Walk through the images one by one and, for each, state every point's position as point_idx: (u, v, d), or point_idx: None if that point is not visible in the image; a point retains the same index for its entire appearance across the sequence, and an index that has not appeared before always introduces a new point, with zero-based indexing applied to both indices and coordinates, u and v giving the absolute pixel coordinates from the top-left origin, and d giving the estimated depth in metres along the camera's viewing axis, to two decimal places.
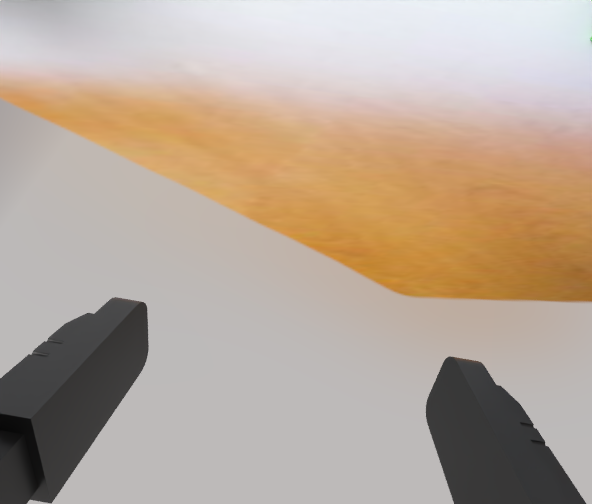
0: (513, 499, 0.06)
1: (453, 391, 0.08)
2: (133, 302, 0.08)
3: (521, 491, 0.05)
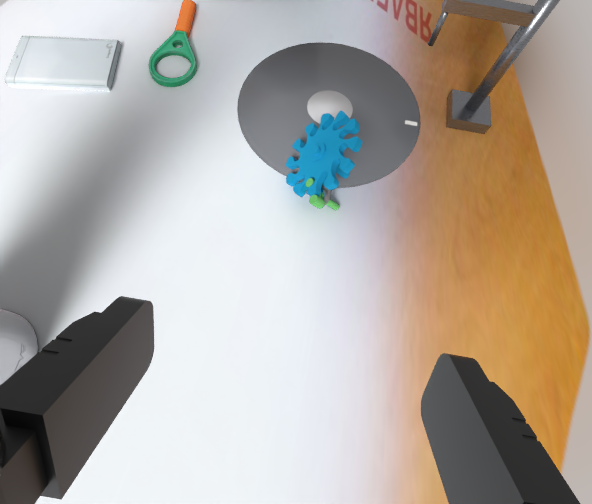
0: (503, 492, 0.06)
1: (447, 387, 0.08)
2: (140, 301, 0.08)
3: (511, 484, 0.05)
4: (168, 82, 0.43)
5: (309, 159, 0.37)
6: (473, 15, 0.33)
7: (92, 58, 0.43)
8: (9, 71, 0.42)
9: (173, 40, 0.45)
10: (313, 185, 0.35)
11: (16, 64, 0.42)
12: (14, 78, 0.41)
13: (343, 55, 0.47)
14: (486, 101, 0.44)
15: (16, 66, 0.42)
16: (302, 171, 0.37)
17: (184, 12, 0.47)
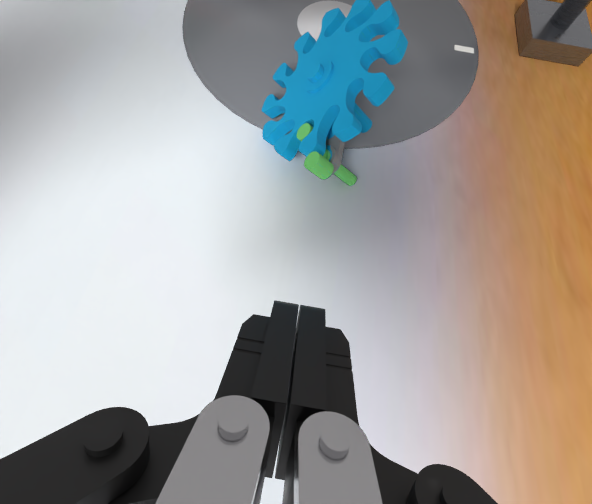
0: (288, 402, 0.07)
1: (296, 333, 0.09)
2: (293, 305, 0.09)
3: (292, 394, 0.06)
4: None
5: (302, 92, 0.20)
6: None
7: None
8: None
9: None
10: (311, 135, 0.18)
11: None
12: None
13: None
14: (580, 14, 0.27)
15: None
16: (290, 114, 0.20)
17: None
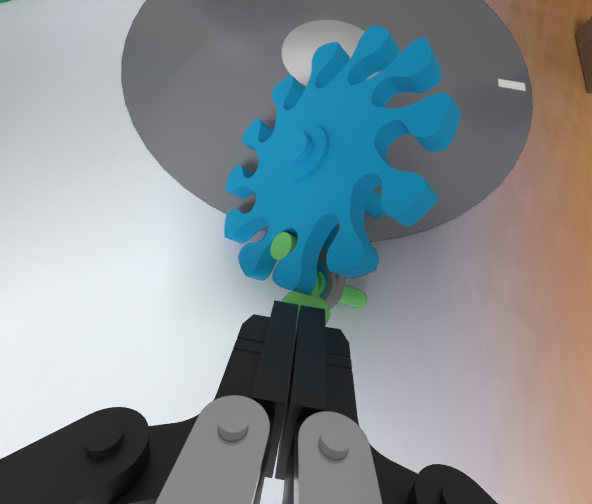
0: (288, 402, 0.07)
1: (296, 333, 0.09)
2: (293, 305, 0.09)
3: (292, 394, 0.06)
4: None
5: (281, 174, 0.13)
6: None
7: None
8: None
9: None
10: (292, 258, 0.11)
11: None
12: None
13: None
14: None
15: None
16: (263, 208, 0.13)
17: None
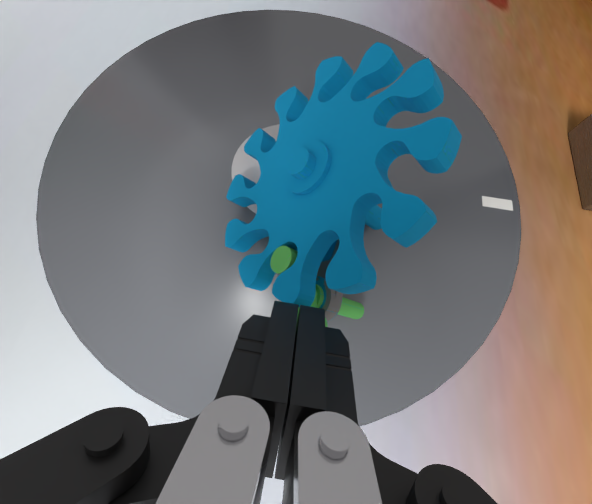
0: (288, 402, 0.07)
1: (296, 333, 0.09)
2: (293, 305, 0.09)
3: (291, 394, 0.06)
4: None
5: (283, 187, 0.13)
6: None
7: None
8: None
9: None
10: (292, 272, 0.11)
11: None
12: None
13: (321, 37, 0.20)
14: None
15: None
16: (264, 220, 0.13)
17: None
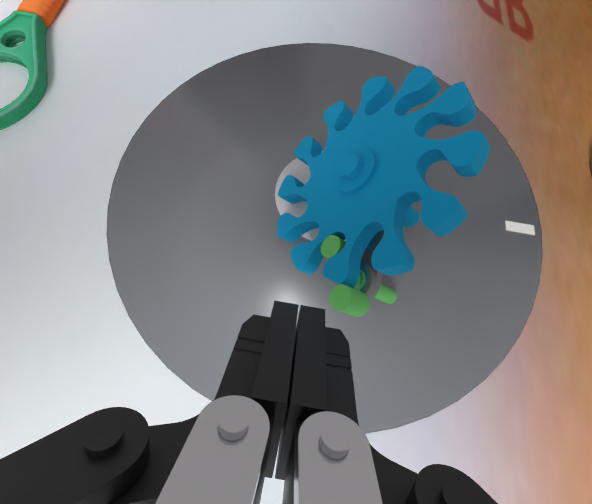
0: (288, 402, 0.07)
1: (296, 333, 0.09)
2: (293, 305, 0.09)
3: (292, 394, 0.06)
4: None
5: (332, 186, 0.15)
6: None
7: None
8: None
9: (6, 31, 0.21)
10: (341, 257, 0.13)
11: None
12: None
13: (356, 69, 0.22)
14: None
15: None
16: (314, 213, 0.15)
17: None
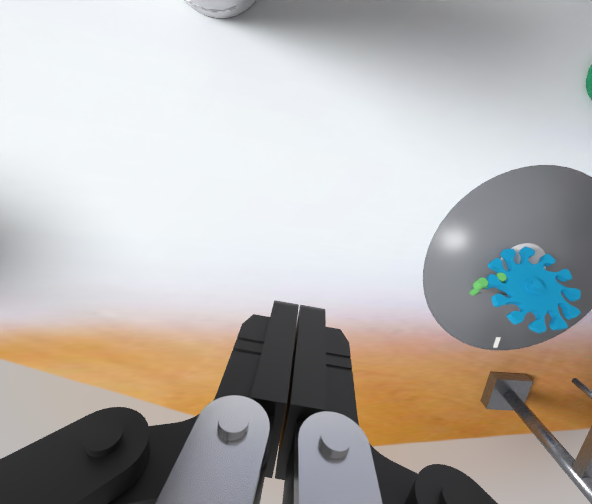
0: (288, 402, 0.07)
1: (296, 333, 0.09)
2: (293, 305, 0.09)
3: (292, 394, 0.06)
4: None
5: (528, 275, 0.37)
6: (591, 429, 0.33)
7: None
8: None
9: None
10: (498, 281, 0.37)
11: None
12: None
13: None
14: None
15: None
16: (515, 268, 0.38)
17: None
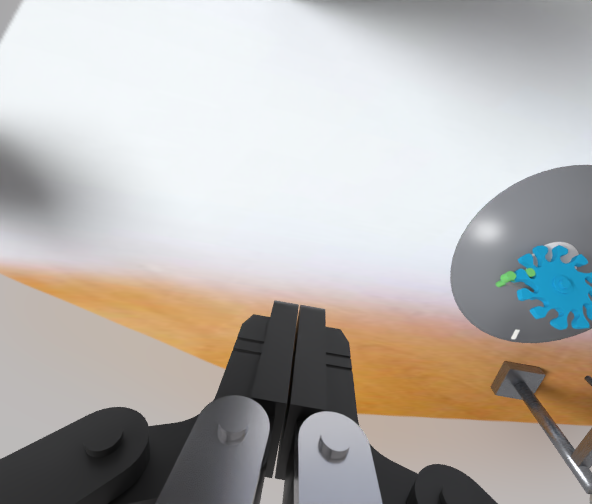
0: (288, 402, 0.07)
1: (296, 333, 0.09)
2: (293, 305, 0.09)
3: (292, 394, 0.06)
4: None
5: (557, 274, 0.38)
6: None
7: None
8: None
9: None
10: (526, 276, 0.38)
11: None
12: None
13: None
14: None
15: None
16: (545, 265, 0.38)
17: None
